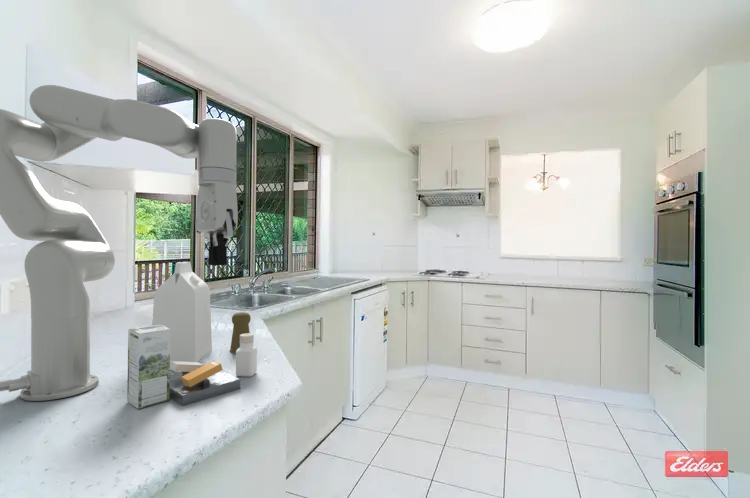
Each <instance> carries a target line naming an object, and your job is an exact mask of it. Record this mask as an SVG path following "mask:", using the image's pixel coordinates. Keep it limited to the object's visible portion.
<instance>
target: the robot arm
mask: <svg viewBox="0 0 750 498" xmlns="http://www.w3.org/2000/svg"><path fill="white" fill-rule="evenodd" d="M29 106H30V109H31V110H32V112H33V113H34V114H35V116H36V117H37V118H38V119H40V120H41V121H42V122H43V123H40V122H38V121H35V120H33V119H30V118H27V117H25V116H22V115H19V114H17V113H14V112H12V111H9V110H6V109H2V108H0V217H1V218H2V220H3V221H4V223H5V224H6V227H8V229H9V230H10V232H12V234H13V235H15V236H16V237H17V238H19V239H23V240H26V241H36V242H39V241H40V242H39V243H37V244H35V245H34V246H33V247H31V249H29V251H28V252H27V254H25V255H26V256H25V259H24V272H25V276H26V279H27V283H28V288H29V295H30V319H31V320H30V321H31V322H30V323H31V328H30V331H31V332H30V335H31V336H30V338H31V340H30V343H31V344H30V345H31V346H30V349H31V350H30V351H31V352H30V354H31V355H30V365H31V366H30V370H27V371H26V375H20V378H14V379H11V378H10V379H5V380H0V392H5V391H8V392H9V393H10V392H16V391H19V390H20V393H19V395H20V398H21V399H22V400H24V401H28V402H29V401H30V402H42V401H43V402H44V401H45V402H46V401H53V400H59V399H64V398H68V397H73V396H76V395H79V394H82V393H86V392H87V391H90V390H92V389H94V388H95V387H97V386H98V385H99V377H98V376H97V375H95V374H91V305H90V302H91V301H90V297H89V295H88V294H89V293H88V291H87V290H86V287H85V285H84V283H87V282H94V281H98V280H102V279H104V278H106V277H107V276H109V274H111V273H112V271H113V270H114V267H115V263H116V262H115V254H114V252H113V249H112V248H111V246H110V244H109V242H108V241H107V240H106V237H105V236H104V235H103V234H102V231H101V230H100V229H99V227H98V225H97V223H96V222H95V221H94V220H93V219H94V218H92V216H91V215H90V214H89V213H88V211H86V209H84V207H82V206H80V205H79V204H77V203H76V202H74V201H70V200H66V199H59V198H55V197H52V196H51V195H49V194H48V192H46V190H45V189H44V188H43V186H42V185H41V184H40V182H39V180H38V179H37V177H36V176H35V174H34V173H33V172H32V171H31V170H30V169H29V167H28V166H26V165H25V164H24V163H23V162H21V161H20V160H19V159H18V157H19V158H23V159H27V160H30V161H34V162H42V163H43V162H52V161H55V160H57V159H59V158H62V157H63V156H65V155H68V154H69V153H71V152H73V151H76V150H77V149H79V148H81V147H83V146H85V145H86V144H88V143H90V142H93V140H95V139H97V138H98V139H102V140H106V141H111V142H115V141H116V142H117V141H120V140H122V138H128V139H132V140H136V141H139V142H140V141H141V142H144V143H147V144H151V145H155V146H156V147H157V146H158V147H160V148H162V149H164V150H165V151H168V152H170V153H171V154H174V155H176V156H178V157H179V158H183V159H198V161H197V162H198V168H197V169H198V176H197V177H198V178H197V179H198V184H197V185H198V186H199V187H198V192H197V198H196V207H195V208H196V209H195V210H196V212H195V230H196V231H197V232H201V233H203V238H205V239H207V240H206V241H207V247H208V265H209V266H227V261H228V260H227V259H228V258H227V257H228V256H227V252H228V251H227V247H228V245H229V239H230V238H232V237H233V236H234V231H236V230H237V228H238V223H239V222H238V219H239V216H238V215H239V213H238V199H237V198H238V195H237V190H236V188H237V128H236V126H235V124H233V123H232V122H231V121H229V120H226V119H221V118H218V117H217V118H214V117H213V118H212V117H211V118H209V117H208V118H204V119H202V120H201V121H200V122H199V123H198V124H195V123H194V122H193V123H192V122H191V121H189V120H188V119H186V118H185V117H184V116H183V115H181V114H179V113H178V112H176V111H175V110H172V109H170V108H166V107H163V106H160V105H157V104H156V105H155V104H153V103H149V102H145V101H141V100H136V99H131V98H123V99H122V98H121V99H119V98H118V99H114V98H110V97H105V96H101V95H98V94H97V95H96V94H92V93H89V92H84V91H81V90H78V89H74V88H69V87H64V86H61V85H56V84H53V85H52V84H45V85H40V86H37V88H34V90H33V91H31V93H30V95H29Z"/></svg>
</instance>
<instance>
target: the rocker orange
mask: <svg viewBox="0 0 750 498" xmlns="http://www.w3.org/2000/svg"><path fill="white" fill-rule="evenodd" d="M205 364H206V365H204V366H202V367H200V368H198V369H196V370H194V371H192V372H190V373H188V374H186V375H184V376H182V377H181V378H182V381H183V384H185V385H187V386H189V387H192V386H193V385H195V384H197V383H199V382H201V381H203V380H205V379H207V378H208V377H210V376H212V375H214V374H216V373H218V372H220V371H223V367H222V364H221V362H219V361H215V360H212V361H210V362H208V363H205Z"/></svg>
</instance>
